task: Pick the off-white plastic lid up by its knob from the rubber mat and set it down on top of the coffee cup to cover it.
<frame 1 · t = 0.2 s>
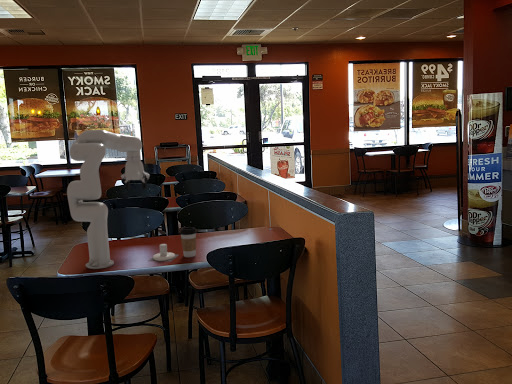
hand: (136, 189, 272), 31 cm above the table, tool pointing down, fingers open, 9 cm apart
coffee cup: (189, 256, 242), on the table
lid: (163, 257, 240), point 1 cm above the table, touching mat
mat: (164, 258, 240), on the table
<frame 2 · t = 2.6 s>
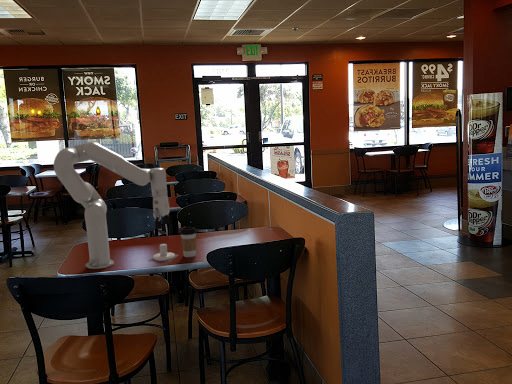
hand: (162, 226, 237), 17 cm above the table, tool pointing down, fingers open, 9 cm apart
nothing on the table moved.
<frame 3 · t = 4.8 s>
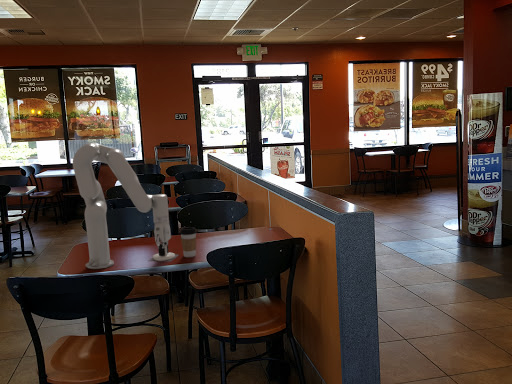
hand: (163, 254, 240), 2 cm above the table, tool pointing down, fingers closed on lid, 3 cm apart
lid: (163, 257, 240), point 1 cm above the table, touching gripper, mat
everything else where it was.
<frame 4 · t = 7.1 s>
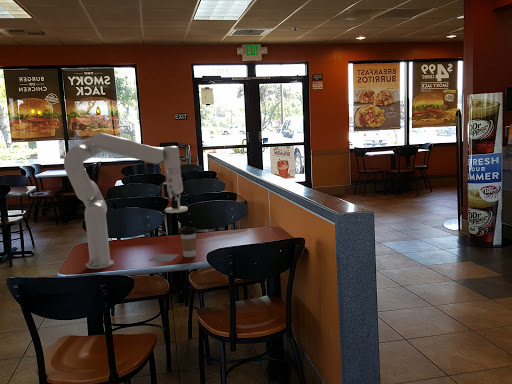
hand: (176, 207, 237), 26 cm above the table, tool pointing down, fingers closed on lid, 3 cm apart
lid: (176, 210, 238), point 24 cm above the table, touching gripper
everything else where it was.
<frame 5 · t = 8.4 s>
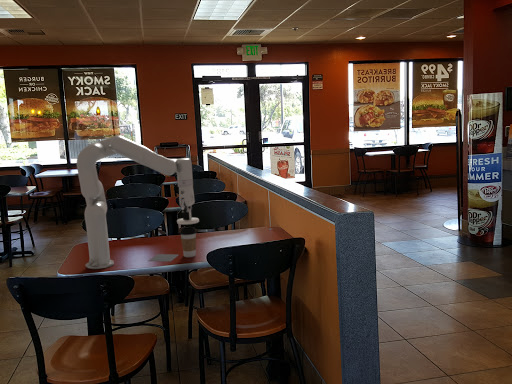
hand: (187, 218, 239), 20 cm above the table, tool pointing down, fingers closed on lid, 3 cm apart
lid: (188, 222, 240), point 18 cm above the table, touching gripper
everything else where it was.
when the fingers open (18 cm above the table, at t = 9.5 s): lid stays where it is, resting on coffee cup.
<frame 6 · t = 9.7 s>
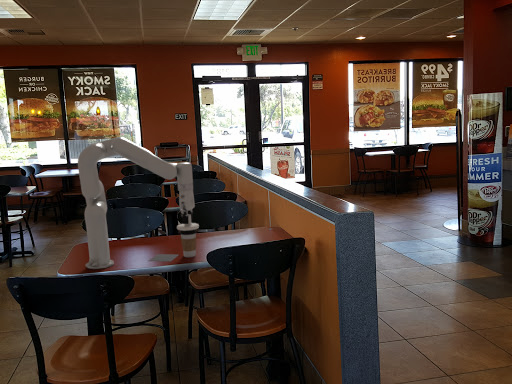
hand: (187, 222, 240), 18 cm above the table, tool pointing down, fingers open, 5 cm apart
coffee cup: (189, 256, 242), on the table, touching lid
lid: (188, 227, 240), point 15 cm above the table, touching coffee cup
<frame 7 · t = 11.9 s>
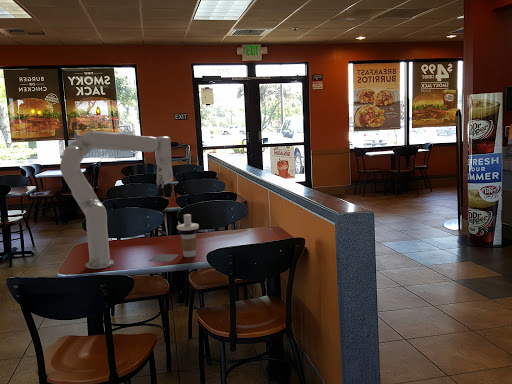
hand: (165, 194, 243), 32 cm above the table, tool pointing down, fingers open, 9 cm apart
nothing on the table moved.
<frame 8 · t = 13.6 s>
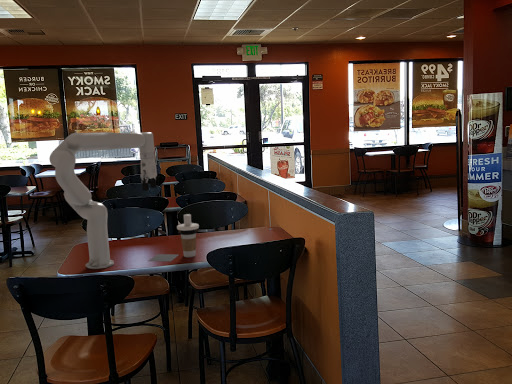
hand: (149, 188, 247), 34 cm above the table, tool pointing down, fingers open, 9 cm apart
nothing on the table moved.
at the end: lid inside the target area in the coffee cup (0.1 cm from its centre), point 15.2 cm above the coffee cup's base; lid tilted 0°; the gripper is holding nothing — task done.
